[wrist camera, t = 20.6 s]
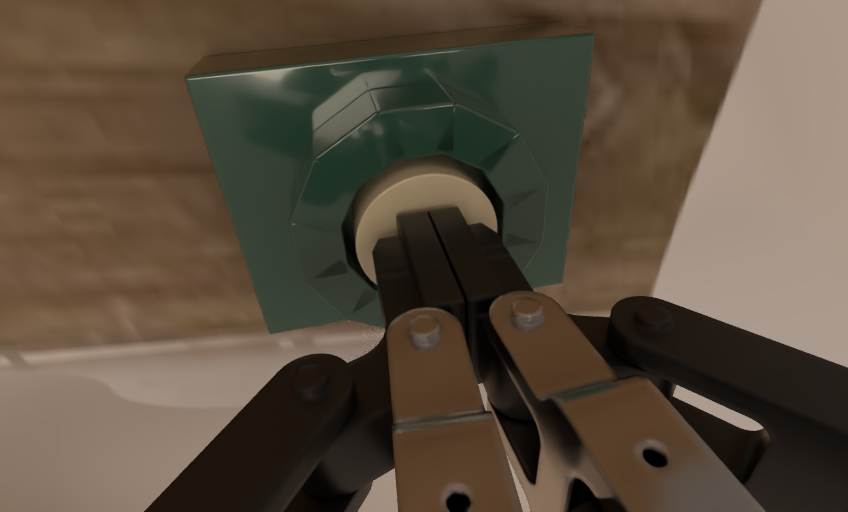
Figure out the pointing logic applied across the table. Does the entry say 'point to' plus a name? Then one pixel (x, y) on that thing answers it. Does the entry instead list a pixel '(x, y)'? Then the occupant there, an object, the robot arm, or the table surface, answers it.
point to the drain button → (414, 200)
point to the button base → (389, 149)
